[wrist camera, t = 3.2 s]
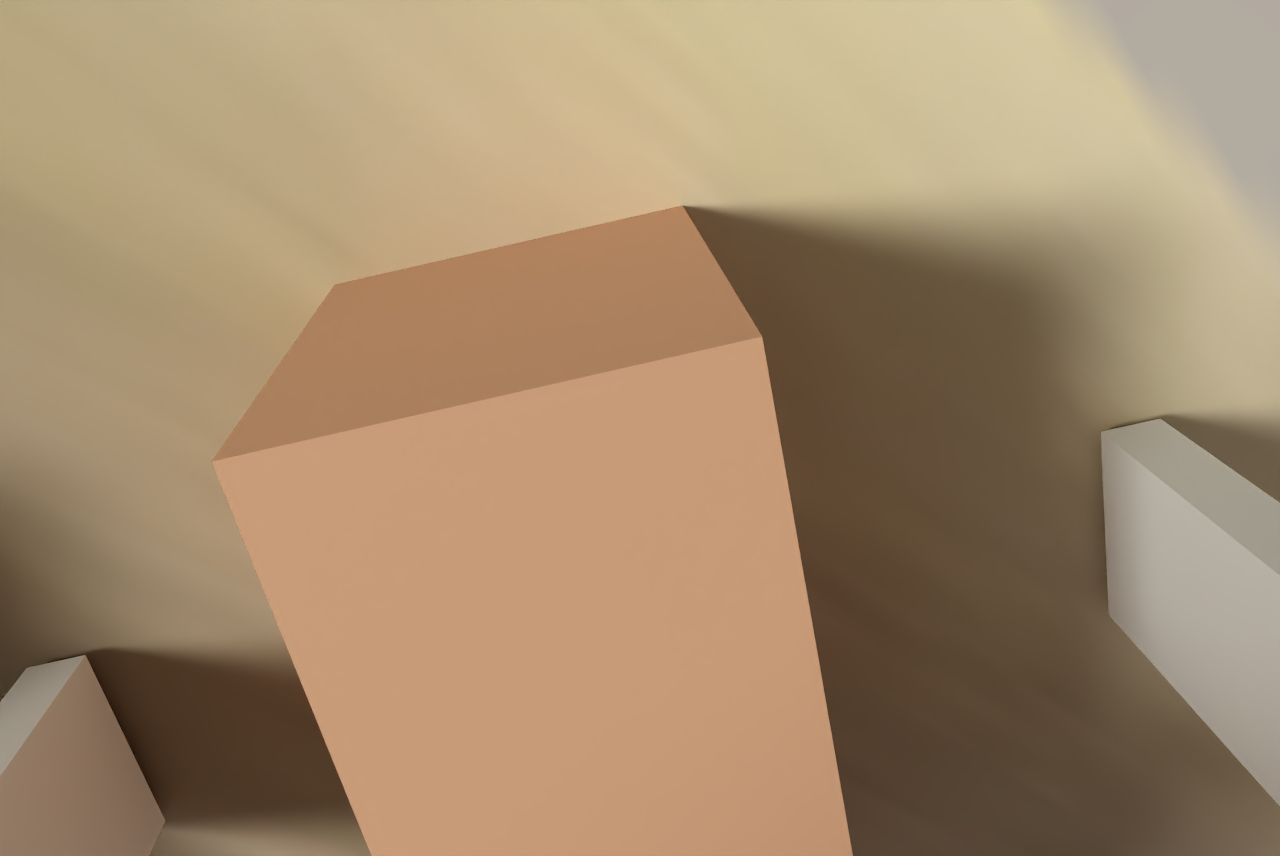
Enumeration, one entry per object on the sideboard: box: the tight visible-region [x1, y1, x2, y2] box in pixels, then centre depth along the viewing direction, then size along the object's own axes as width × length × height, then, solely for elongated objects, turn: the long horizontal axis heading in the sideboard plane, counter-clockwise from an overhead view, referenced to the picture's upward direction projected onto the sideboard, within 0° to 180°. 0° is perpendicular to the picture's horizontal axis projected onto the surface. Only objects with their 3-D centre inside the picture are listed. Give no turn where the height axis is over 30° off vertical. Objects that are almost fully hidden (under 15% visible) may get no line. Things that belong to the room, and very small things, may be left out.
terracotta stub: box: [212, 206, 853, 856], centre depth 12 cm, size 10×4×5 cm, turn 12°
